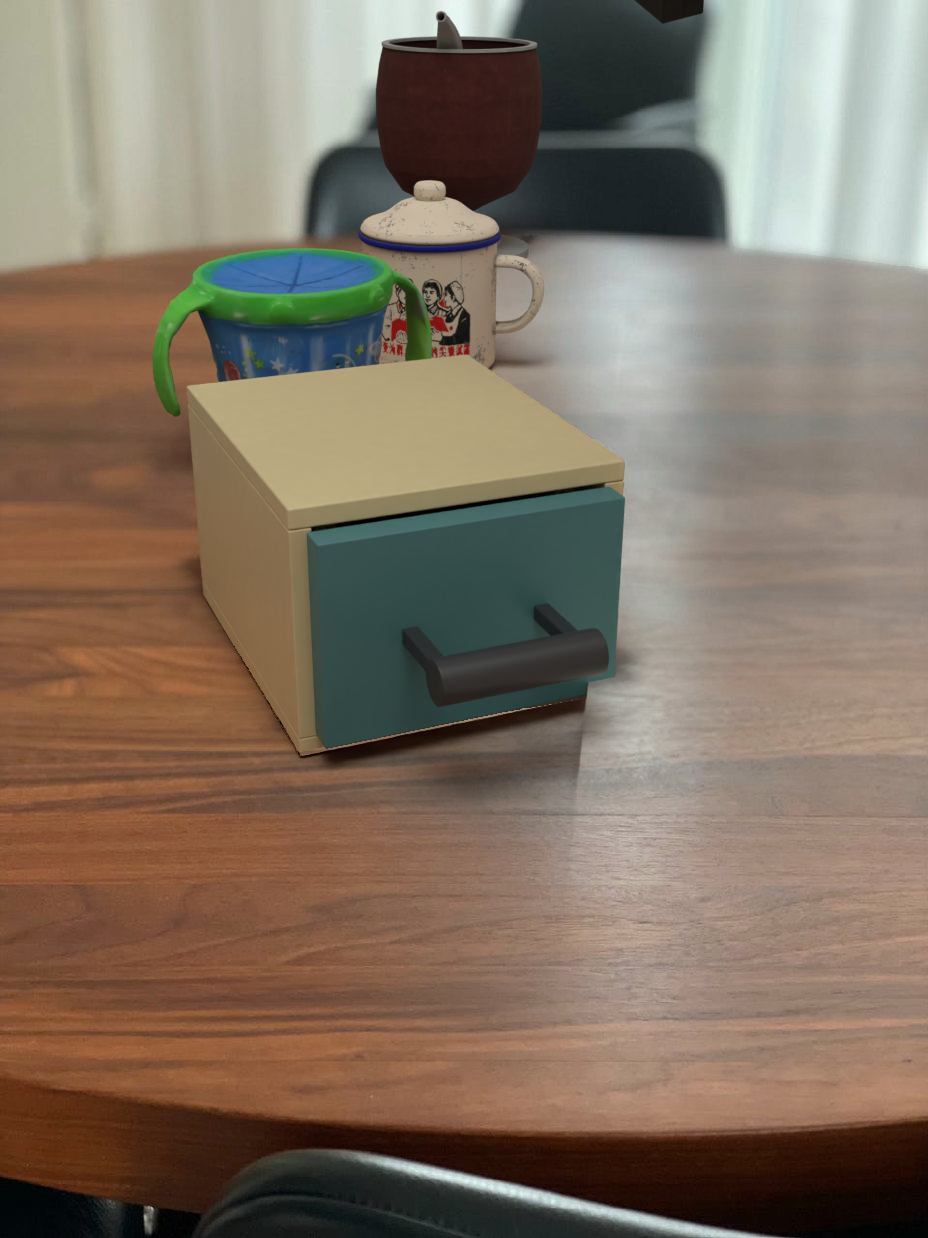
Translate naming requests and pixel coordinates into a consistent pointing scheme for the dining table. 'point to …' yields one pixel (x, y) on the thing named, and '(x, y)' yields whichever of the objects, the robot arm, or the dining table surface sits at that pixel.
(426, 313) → the snack cup
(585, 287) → the dining table surface
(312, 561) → the drawer
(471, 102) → the mate gourd
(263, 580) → the cabinet
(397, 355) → the teacup with lid
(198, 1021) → the dining table surface
